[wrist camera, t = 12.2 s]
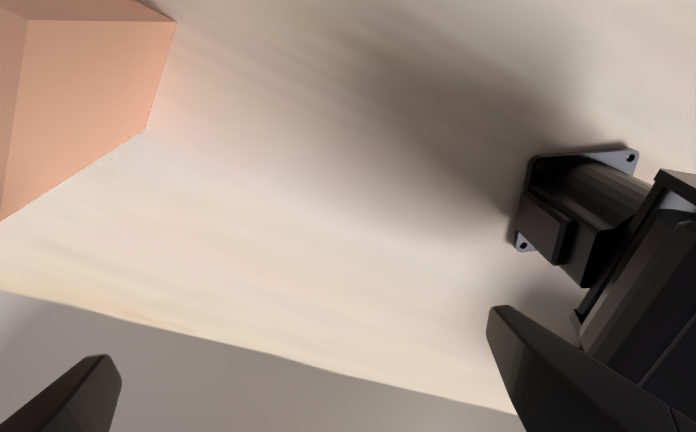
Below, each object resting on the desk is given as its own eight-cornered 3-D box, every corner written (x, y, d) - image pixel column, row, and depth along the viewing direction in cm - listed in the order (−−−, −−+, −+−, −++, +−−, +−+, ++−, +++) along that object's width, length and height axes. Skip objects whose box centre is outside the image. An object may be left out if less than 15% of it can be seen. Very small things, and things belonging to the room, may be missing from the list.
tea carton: (176, 22, 17) (28, 20, 8) (144, 128, 19) (-2, 222, 10) (37, -52, 15) (-351, -160, 6) (19, 74, 17) (-291, 128, 8)
